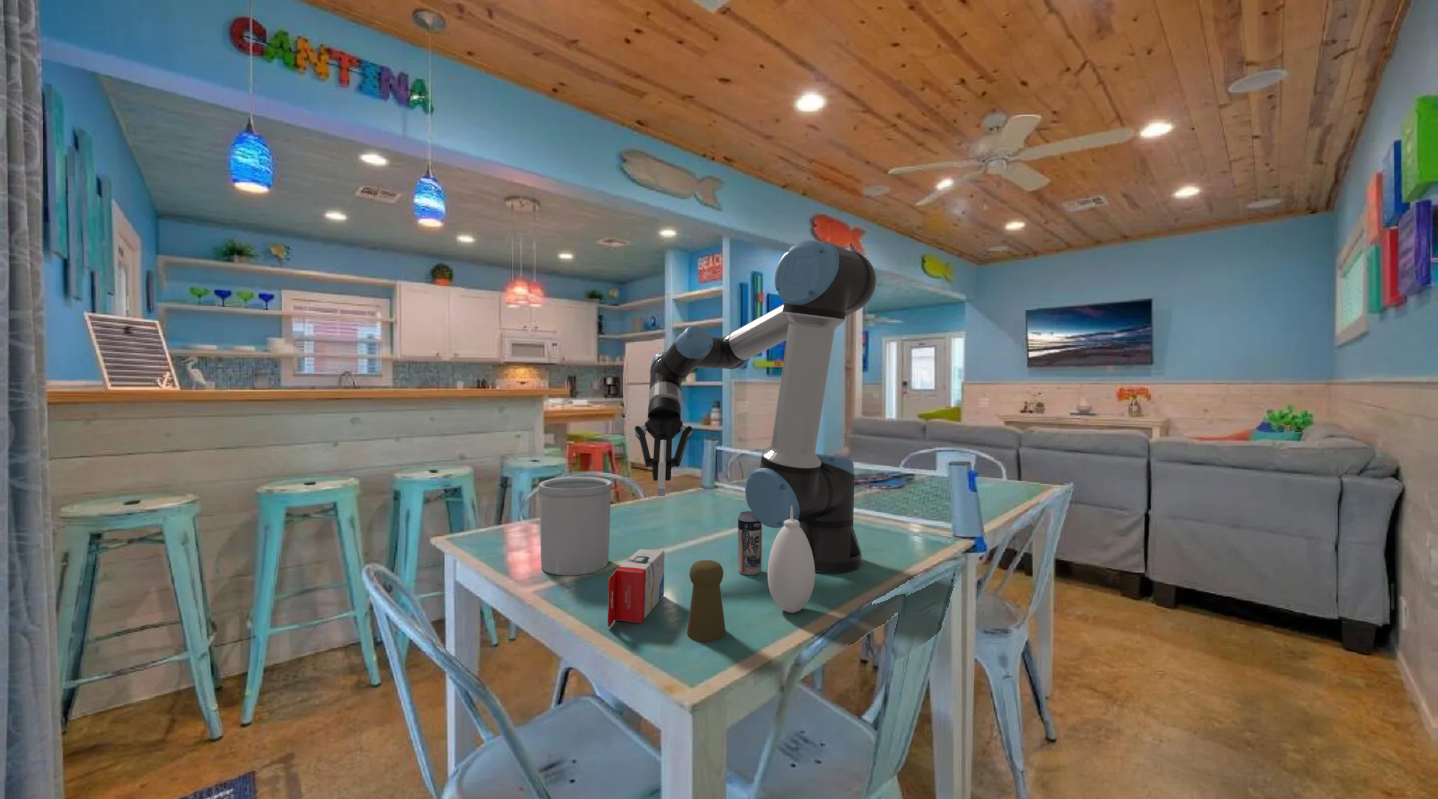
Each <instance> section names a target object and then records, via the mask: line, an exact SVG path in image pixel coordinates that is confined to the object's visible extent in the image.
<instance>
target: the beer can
mask: <svg viewBox="0 0 1438 799" xmlns="http://www.w3.org/2000/svg"><path fill="white" fill-rule="evenodd" d="M762 527H763V524H762V523H761V522H759V521H758V520H757V519H756V518H755V516H754V515H753V514H752V511H751V510H747V511H742V512H740V513H739V515H738V518H737V570H738V572H739V573H740V574H742V575H745V576H755V575H758V574H759V573H761V572H762V564H763V563H762V558H763V556H762V552H763V550H762V549H763V548H762V545H763V544H762V542H763V541H762V538H763V537H762V536H763V535H762V533H763V532H762V531H763V529H762Z"/></svg>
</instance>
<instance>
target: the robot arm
mask: <svg viewBox="0 0 1438 799" xmlns="http://www.w3.org/2000/svg"><path fill="white" fill-rule="evenodd" d="M876 285H877V275H876V271H875V268H874V266H873V264H872V263H871V261H870V260H869V259H868V258H867V257H865V256H864V255H863V254H861V253H860V252H856V251H853V250H849V249H846V248H843V247H842V246H841V247H840V246H837V245H834V244H833V243H830V242H826V241H820V240H812V239H810V240H808V239H807V240H802V241H800V242H797V243H795V244H794V245H792V246H791V247H790V248H789V249H788V250H787V251H785V252H784V254H783V255H782V257H781V258H780V260H779V261H778V264H777V265H776V268H775V273H774V288H775V290H776V291H777V294H778V296H779V298H780V299H781V300H782V301H783V304H781V305H778V306H777V307H776V308H774V309H772V310H770V311H769V312H767V313H765V314H763V315H761V316H760V317H758V318H756V319H753V320H752V321H750V322H748V323H747V324H745V325H743V326H741V327H739V328H738V329H736V330H734V331H733V332H731V333H729V334H727V335H725V336H723V337H715V336H711V334H710V333H709V332H708V331H707V330H706V329H704V328H701V327H700V326H699V325H690V326H688V327H687V328H685V329H684V331H683V332H682V333H680V334H679V335H678V336H677V338H676V340H675V341H674V342H673V343H672V345H671V346H670V347H669V348H668V349H667V351H661V352H659V353H657V354H655V356H653V358H652V360H651V365H650V370H649V375H650V376H649V393H648V406H647V407H648V409H647V419H646V420H645V422H644V425H642V426H640V425H636V426H635V427H634V432H635V437H636V438H637V439H638V441H639V443H640V447H641V453H642V456H643V461H644V465H645V467H647V468H650V467H651V468H652V480H653V481H656V482H657V485H656V486H657V487H656V488H657V497H665V496H666V483H667V482H666V481H669V482H670V481H671V479H672V469H673V468H674V467H676V468H678V467H680V466H681V462H682V460H683V456H684V453H685V449H686V447H687V443H688V441H689V440H690V439H691V438H692V435H693V427H692V426H691V425H689V426H686V425H684V423H683V421H682V419H681V417H682V408H681V406H682V404H681V403H682V383H683V381H684V380H686V378H687V377H688V376H689V375H690V374H691V373H692V372H693V370H694V369H696V368H697V369H701V368H702V369H727V370H736V369H742V368H743V367H745V366H746V365H747V364H748V362H750V359H751V358H753V357H755V356H757V355H759V354H761V353H763V352H765V351H767V350H769V349H771V348H773V347H775V346H778V345H779V344H781V343H784V342H785V348H784V355H783V361H782V362H783V363H782V367H781V368H782V369H781V376H780V382H779V388H778V389H779V390H778V395H777V403H776V410H775V417H774V424H773V430H772V437H771V444H770V446H769V447H768V448H766V449H765V450H763V451H762V453H761V457H760V465H759V468H756V469H755V470H754V471H753V472H752V473H750V474H749V475H748V477H747V478H746V482H745V486H744V487H745V488H744V495H745V502H746V503H747V506H748V508H749V509H750V511H752V514H753V515H754V516H755V518H756V519H757V520H758V521H759V522H761V523H762V525H764V526H765V527H768V528H771V529H781V528H782V527H783V526H784V521H785V520H788V519H790V512H791V505H792V507H793V519H794V520H798V521H799V523H800V525H799V526H800V527H801V529H802V530H803V532H804V533H805V535H806V537H807V539H808V542H809V544H810V547H811V550H812V554H813V559H814V565H815V572H819V573H831V574H833V573H835V574H836V573H837V574H838V573H846V572H852V571H854V569H855V570H857V569H859V568H860V567H861V566H862V559H863V558H862V550H861V548H860V545H859V544H860V543H859V541H858V538H857V534H856V531H855V529H854V516H855V515H854V508H855V507H854V506H855V505H854V504H855V502H854V501H855V478H856V474H855V464H854V461H853V460H852V459H851V458H850V457H847V456H846V457H845V456H839V455H832V454H831V455H829V454H820V453H816V449H817V443H818V436H819V430H820V424H821V417H822V411H823V405H824V400H825V399H824V398H825V391H826V387H827V386H826V385H827V381H828V374H829V367H830V363H831V355H832V349H833V343H834V335H835V330H837V328H838V327H839V326H840V325H841V324H843V323H844V322H845V319H846V317H848V316H850V315H852V314H853V313H855V312H857V311H860V309H862V308H864V306H865V305H867V304H868V303H869V302H870V300H871V299H872V297H873V295H874V293H875V290H876V287H877V286H876ZM647 433H649V435H650V436H651V437H652V438H653V440H654V441H653V442H654V443H653V454H652V455H653V456H652V457H653V458H652V457H651V455H650V451H649V446H648V442H647V438H646V436H647ZM679 433H680V438H679V442H678V444H677V448H676V451H675V454H674V457H673V456H672V453H673V439H674V438H676V436H677V435H678V434H679ZM663 440H664V441H665V462H660V459H661V444H662V442H661V441H663Z"/></svg>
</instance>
